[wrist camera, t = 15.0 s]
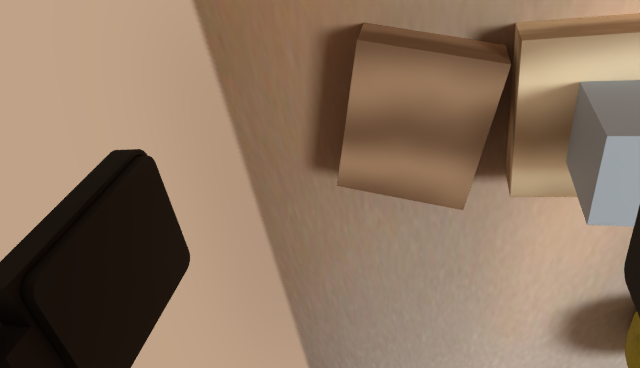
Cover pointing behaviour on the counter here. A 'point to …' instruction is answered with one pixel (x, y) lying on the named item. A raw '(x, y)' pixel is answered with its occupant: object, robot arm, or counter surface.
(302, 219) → the counter surface
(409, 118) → the walnut plinth
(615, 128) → the grey block
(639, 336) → the apple
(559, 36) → the maple plinth
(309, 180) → the counter surface
